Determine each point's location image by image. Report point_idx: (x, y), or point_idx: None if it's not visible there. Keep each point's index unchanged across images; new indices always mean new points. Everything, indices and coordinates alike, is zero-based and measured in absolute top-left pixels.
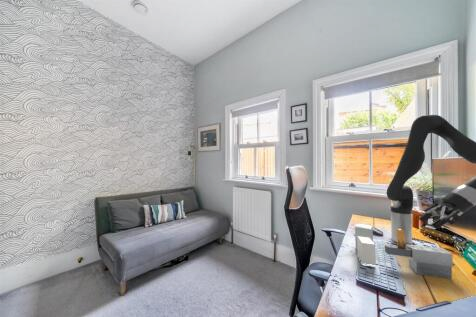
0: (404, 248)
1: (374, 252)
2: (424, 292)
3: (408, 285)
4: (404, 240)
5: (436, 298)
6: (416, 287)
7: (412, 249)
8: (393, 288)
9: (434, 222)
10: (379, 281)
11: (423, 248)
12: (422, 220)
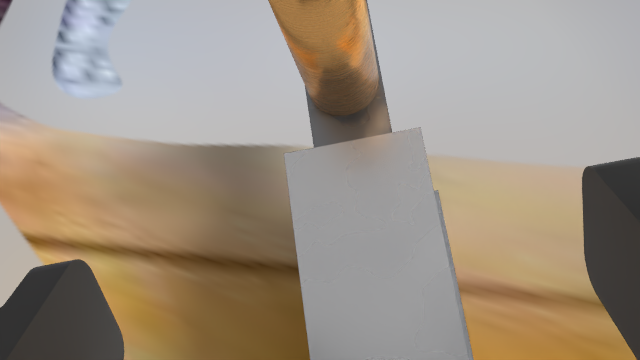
0: (314, 101)
1: None
2: (84, 213)
3: (127, 148)
4: (297, 59)
5: (45, 257)
6: (123, 186)
7: (284, 155)
8: (61, 68)
9: (14, 313)
10: (106, 11)
11: (366, 271)
12: (598, 241)
